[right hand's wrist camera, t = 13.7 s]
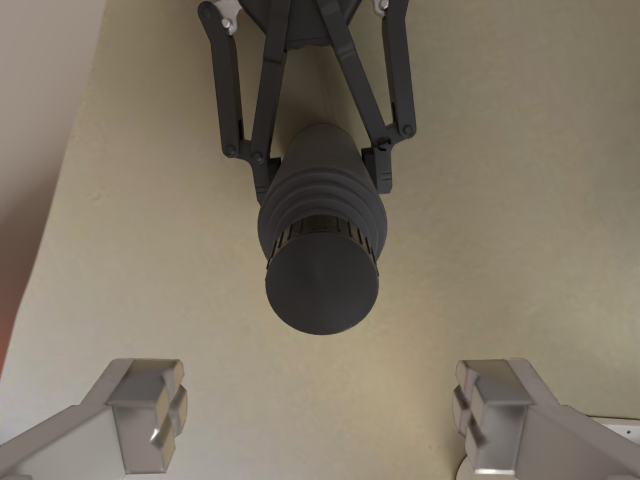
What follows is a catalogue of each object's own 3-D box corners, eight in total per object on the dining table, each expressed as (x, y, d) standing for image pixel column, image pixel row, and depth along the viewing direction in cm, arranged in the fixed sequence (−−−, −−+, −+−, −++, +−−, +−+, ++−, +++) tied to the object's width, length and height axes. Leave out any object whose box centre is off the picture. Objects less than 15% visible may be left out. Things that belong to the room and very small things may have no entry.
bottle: (275, 140, 38) (204, 237, 15) (342, 111, 37) (373, 168, 14) (304, 204, 40) (278, 375, 17) (368, 178, 39) (431, 322, 16)
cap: (252, 236, 17) (243, 257, 15) (351, 196, 16) (355, 213, 14) (295, 321, 18) (292, 351, 16) (388, 287, 18) (396, 314, 16)
